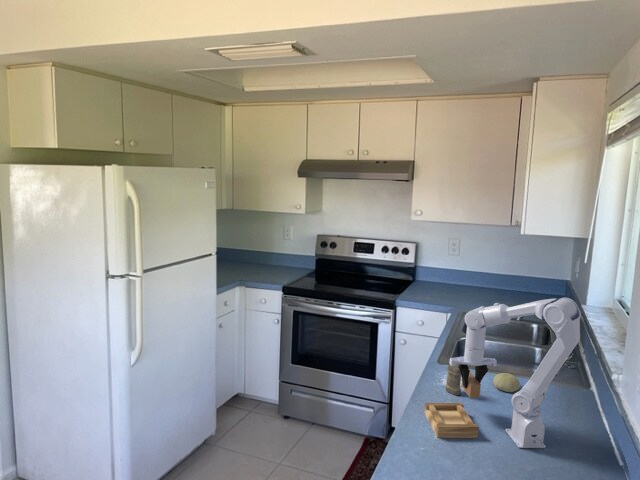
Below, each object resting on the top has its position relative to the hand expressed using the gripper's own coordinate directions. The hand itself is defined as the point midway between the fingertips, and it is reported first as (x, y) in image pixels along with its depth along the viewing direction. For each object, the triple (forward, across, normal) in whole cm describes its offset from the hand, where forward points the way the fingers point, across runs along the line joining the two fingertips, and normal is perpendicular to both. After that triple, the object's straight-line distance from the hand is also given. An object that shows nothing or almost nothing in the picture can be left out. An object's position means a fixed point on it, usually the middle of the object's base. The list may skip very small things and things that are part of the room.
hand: (470, 386), depth 158 cm
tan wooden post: (+2, 0, 0) cm, 2 cm away
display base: (+9, +8, +7) cm, 14 cm away
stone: (+10, 0, -14) cm, 17 cm away
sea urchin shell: (+10, -21, -19) cm, 30 cm away
